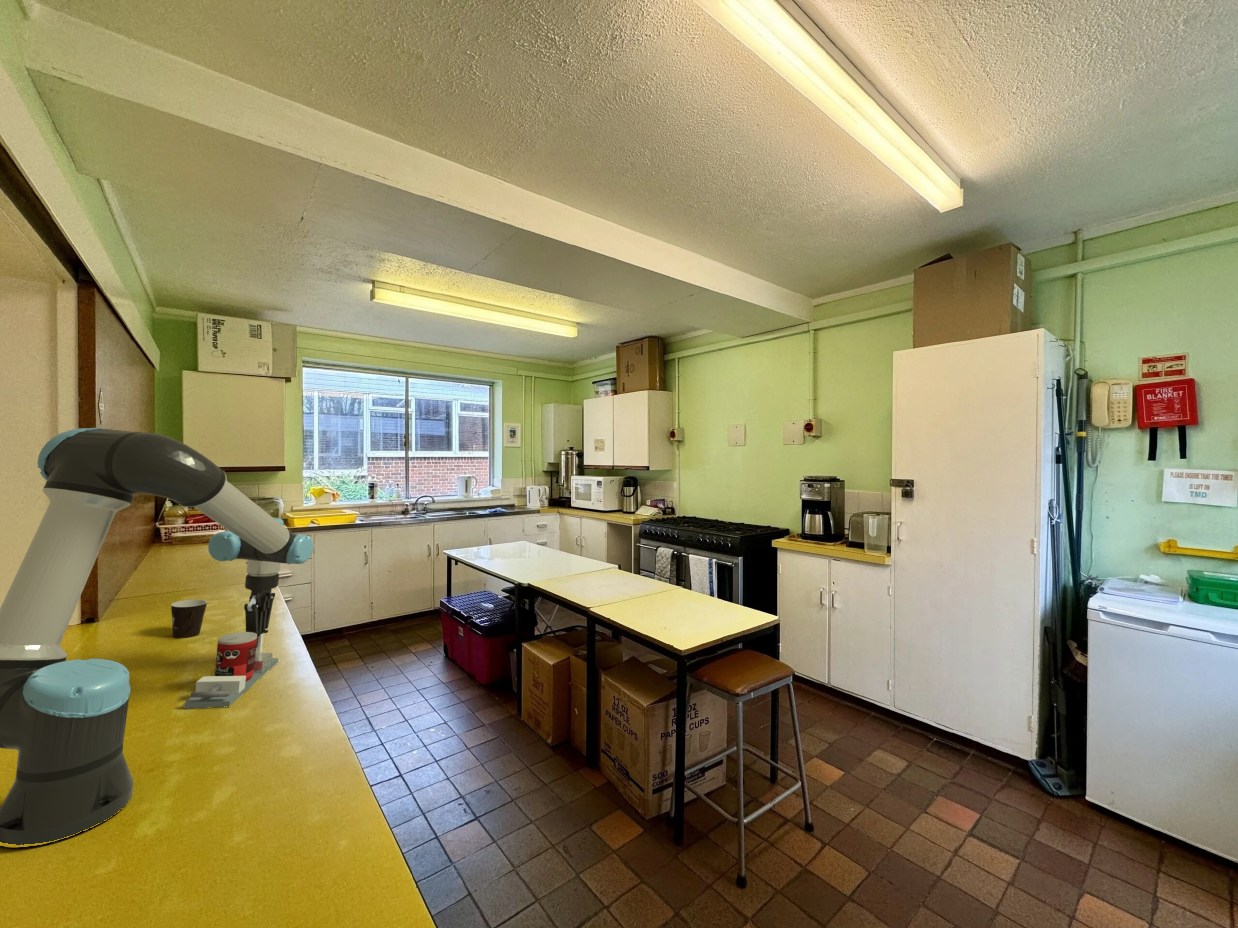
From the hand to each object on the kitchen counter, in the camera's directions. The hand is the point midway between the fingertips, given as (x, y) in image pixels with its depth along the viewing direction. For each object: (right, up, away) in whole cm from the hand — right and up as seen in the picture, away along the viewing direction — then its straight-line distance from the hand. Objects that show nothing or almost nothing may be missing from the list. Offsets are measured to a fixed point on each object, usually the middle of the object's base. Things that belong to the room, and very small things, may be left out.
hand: (254, 658), depth 136 cm
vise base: (+2, -3, -10) cm, 11 cm away
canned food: (+2, -2, -10) cm, 11 cm away
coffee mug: (-35, 0, +18) cm, 40 cm away
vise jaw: (+1, -1, -4) cm, 4 cm away
